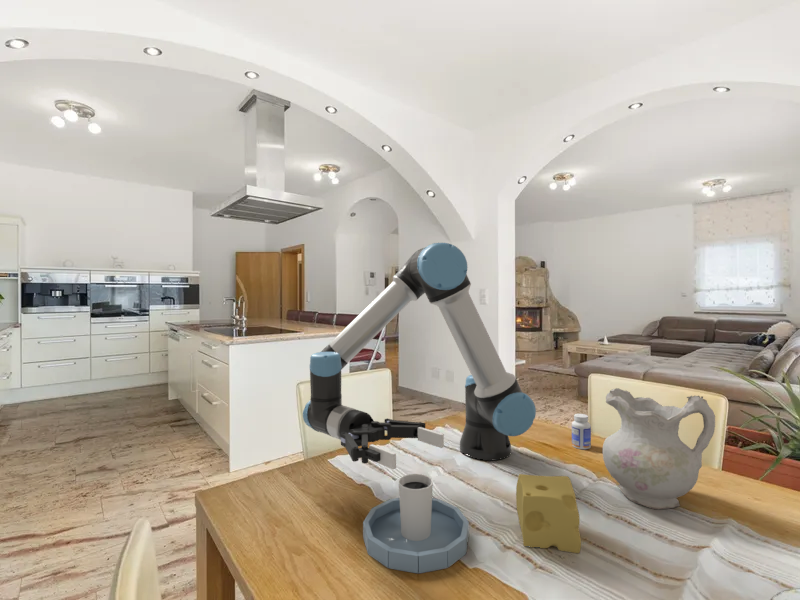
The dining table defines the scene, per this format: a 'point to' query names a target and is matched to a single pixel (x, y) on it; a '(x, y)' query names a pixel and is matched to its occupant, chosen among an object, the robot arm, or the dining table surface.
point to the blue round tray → (416, 555)
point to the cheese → (548, 512)
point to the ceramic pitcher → (654, 449)
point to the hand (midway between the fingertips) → (420, 450)
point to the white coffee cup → (415, 506)
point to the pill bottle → (581, 432)
